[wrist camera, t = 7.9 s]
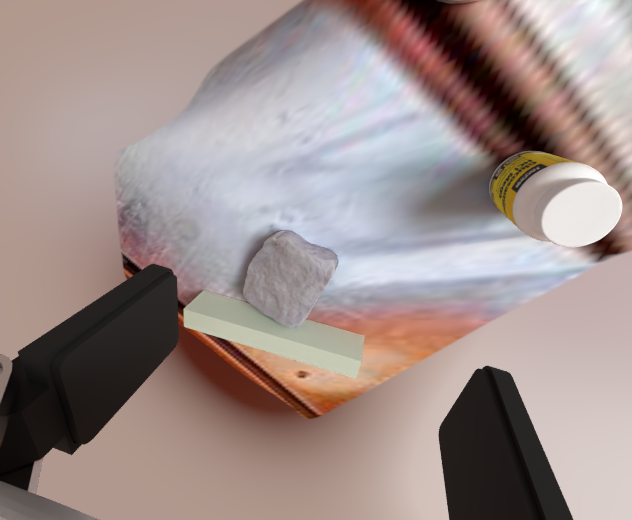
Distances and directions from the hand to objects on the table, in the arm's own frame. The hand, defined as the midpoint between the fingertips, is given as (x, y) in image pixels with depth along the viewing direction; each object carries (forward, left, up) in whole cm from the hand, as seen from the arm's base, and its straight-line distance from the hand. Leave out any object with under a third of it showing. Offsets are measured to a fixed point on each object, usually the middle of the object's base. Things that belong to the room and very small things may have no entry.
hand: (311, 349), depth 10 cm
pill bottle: (-3, +15, -28) cm, 31 cm away
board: (+22, -7, -28) cm, 36 cm away
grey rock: (+14, -7, -28) cm, 32 cm away
